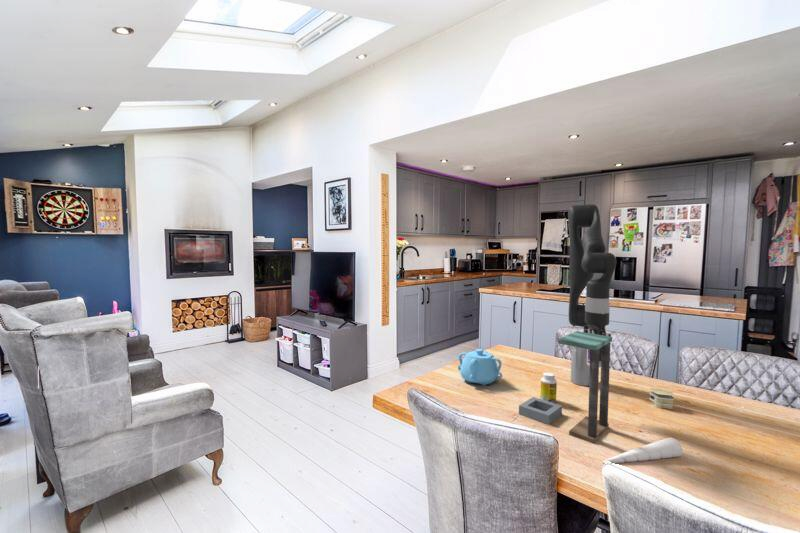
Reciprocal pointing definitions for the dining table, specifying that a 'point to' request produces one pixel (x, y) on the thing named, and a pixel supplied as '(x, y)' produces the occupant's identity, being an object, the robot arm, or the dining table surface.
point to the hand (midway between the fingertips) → (595, 358)
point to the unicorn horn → (650, 452)
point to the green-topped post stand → (593, 383)
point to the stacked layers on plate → (662, 398)
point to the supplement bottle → (548, 387)
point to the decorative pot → (479, 367)
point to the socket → (540, 410)
